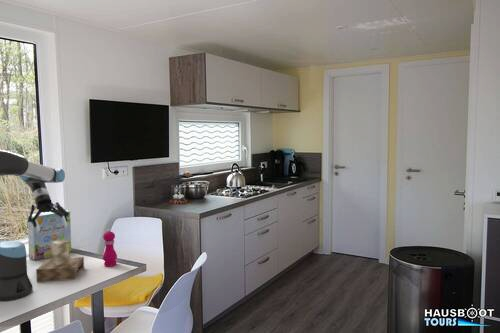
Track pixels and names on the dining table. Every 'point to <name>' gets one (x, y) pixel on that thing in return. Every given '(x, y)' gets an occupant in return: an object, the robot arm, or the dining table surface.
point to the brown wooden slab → (59, 270)
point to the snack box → (47, 234)
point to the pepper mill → (109, 249)
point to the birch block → (60, 252)
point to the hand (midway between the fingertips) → (52, 229)
